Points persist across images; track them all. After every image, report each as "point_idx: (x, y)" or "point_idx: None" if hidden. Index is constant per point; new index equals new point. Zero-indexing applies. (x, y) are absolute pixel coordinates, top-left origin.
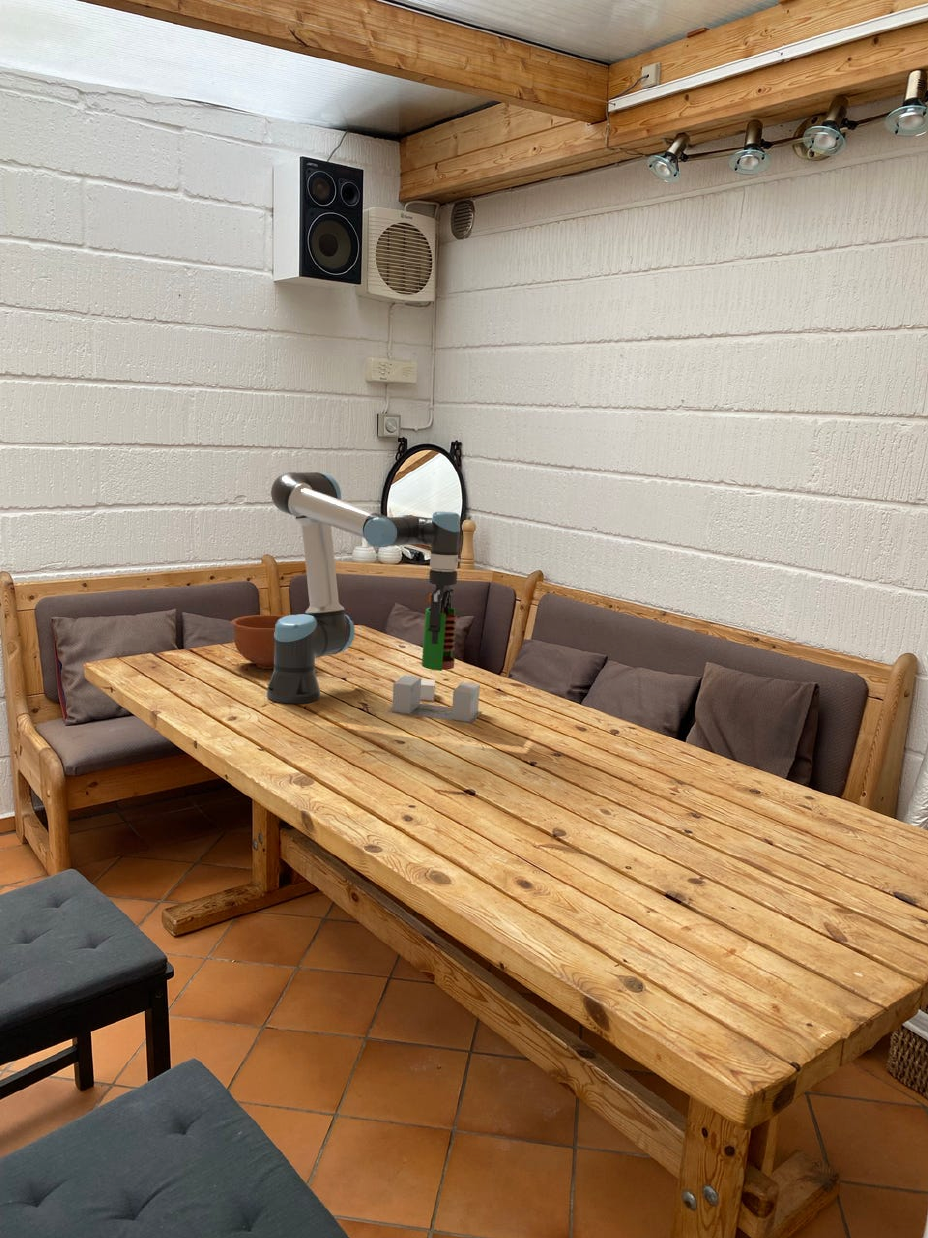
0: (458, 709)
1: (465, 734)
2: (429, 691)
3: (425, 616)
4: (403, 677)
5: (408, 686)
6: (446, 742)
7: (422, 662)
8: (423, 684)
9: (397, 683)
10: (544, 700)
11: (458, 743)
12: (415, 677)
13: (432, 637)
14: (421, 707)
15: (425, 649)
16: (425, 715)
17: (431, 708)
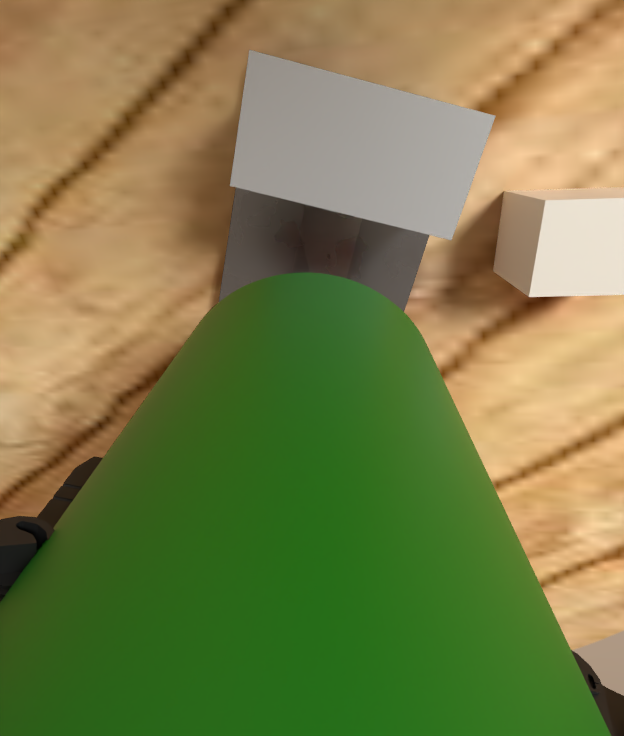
0: None
1: (129, 396)
2: (519, 263)
3: (106, 702)
4: (427, 113)
5: (233, 168)
6: (11, 338)
7: (261, 286)
8: (552, 235)
9: (247, 83)
10: (579, 613)
11: (20, 376)
12: (441, 200)
13: (44, 508)
14: (369, 227)
15: (191, 352)
16: (246, 253)
17: (362, 273)
